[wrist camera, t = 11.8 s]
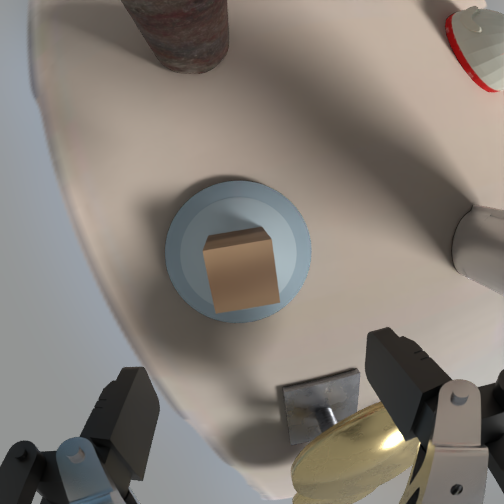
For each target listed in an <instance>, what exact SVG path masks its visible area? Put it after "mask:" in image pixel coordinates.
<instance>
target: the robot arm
mask: <svg viewBox="0 0 504 504" xmlns="http://www.w3.org/2000/svg"><path fill="white" fill-rule="evenodd" d="M452 257H453V262H454V266H455V268H456V270H457V271H458V272H459V273H460V274H461V275H463V276H465V277H467V278H469V279H471V280H473V281H475V282H477V283H479V284H481V285H483V286H485V287H487V288H489V289H491V290H493V291H495V292H497V293H499V294H501V295H503V296H504V210H500V209H495V208H490V207H485V206H479V205H473V207H472V210H471V211H470V212H469V213H467V214H466V215H465V216H464V217H463V218H462V220H461V221H460V223H459V224H458V227H457V229H456V232H455V235H454V239H453V245H452ZM365 372H366V376H367V379H368V381H369V383H370V384H371V386H372V388H373V389H374V391H375V392H376V394H377V396H378V397H379V399H380V400H381V402H382V404H383V405H384V407H385V409H386V410H387V412H388V413H389V415H390V417H391V418H392V420H393V422H394V423H395V425H396V427H397V428H398V430H399V432H400V433H401V435H402V437H403V438H404V440H405V442H406V441H409V440H411V439H413V438H415V437H417V438H418V440H419V441H420V442H419V445H418V448H417V452H416V456H415V459H414V463H413V467H412V470H411V473H410V477H409V480H408V483H407V486H406V489H405V492H404V494H403V496H402V498H401V500H400V502H399V504H483V500H484V494H485V487H486V479H487V469H488V468H489V470H490V471H491V473H492V474H493V476H494V478H495V479H496V481H497V483H498V484H499V486H500V488H501V489H502V491H503V493H504V370H502V371H501V372H500V374H499V376H498V379H497V381H496V383H493V384H489V385H485V386H481V387H477V386H476V385H475V384H473V383H472V382H470V381H467V380H462V379H456V380H452V379H451V378H450V377H449V376H448V375H447V374H446V373H445V372H444V371H443V370H442V369H441V368H440V367H439V365H438V364H437V363H436V362H435V361H434V360H433V359H432V358H431V357H430V358H429V355H428V354H427V353H426V352H425V351H423V349H422V348H421V347H420V346H419V345H418V344H417V343H416V342H415V341H412V340H410V339H408V338H406V337H404V336H402V337H398V336H397V335H396V333H395V332H394V331H393V330H392V329H391V328H389V327H386V328H382V329H379V330H375V331H371V332H369V333H368V335H367V346H366V359H365ZM159 411H160V405H159V400H158V397H157V394H156V392H155V390H154V388H153V386H152V383H151V381H150V379H149V376H148V374H147V372H146V370H145V368H144V367H124V368H122V370H121V371H120V374H119V375H118V377H117V379H116V381H112V382H110V383H109V384H108V385H107V386H106V387H105V388H104V389H103V391H102V393H101V395H100V397H99V401H97V402H96V405H95V409H93V410H92V413H91V414H90V416H89V418H88V420H87V422H86V425H85V426H84V429H83V431H82V433H81V435H80V437H74V438H70V439H68V440H66V441H64V442H63V443H62V444H61V445H60V446H59V448H58V449H57V451H45V452H40V451H39V450H38V449H37V447H36V446H35V445H34V444H33V443H32V442H30V441H20V442H17V443H15V444H14V445H13V446H12V447H11V448H10V449H9V451H8V453H7V455H6V457H5V459H4V461H3V463H2V465H1V466H0V504H31V503H32V500H33V497H34V495H35V492H36V491H37V492H38V493H39V494H40V495H41V496H43V497H42V500H41V503H40V504H140V502H139V501H138V499H137V498H136V496H135V495H134V493H133V491H132V490H131V488H130V487H129V485H130V480H138V481H143V478H144V473H145V469H146V465H147V461H148V456H149V452H150V448H151V444H152V440H153V436H154V431H155V427H156V424H157V420H158V416H159Z"/></svg>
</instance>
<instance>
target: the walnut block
mask: <svg viewBox="0 0 504 504" xmlns="http://www.w3.org/2000/svg"><path fill="white" fill-rule="evenodd" d="M203 256H204V261H205V266H206V271H207V276H208V280H209V285H210V290H211V294H212V299H213V304H214V308H215V312H216V314H217V313H223V312H229V311H236V310H242V309H248V308H253V307H259V306H265V305H270V304H276V303H280V296H279V289H278V281H277V274H276V266H275V259H274V252H273V244H272V239H271V237H270V236H269V235H268V234H267V232H266V231H265V230H264V228H263V227H256V228H250V229H244V230H238V231H232V232H226V233H220V234H214V235H209V236H208V237H207V240H206V243H205V245H204V248H203Z"/></svg>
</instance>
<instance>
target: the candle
mask: <svg viewBox="0 0 504 504" xmlns="http://www.w3.org/2000/svg"><path fill="white" fill-rule="evenodd" d="M121 1H122V3H123V4H124V6H125V8H126V9H127V11H128V12H129V14H130V15H131V17H132V18H133V20H134V22H135V23H136V25H137V27H138V28H139V30H140V32H141V33H142V35H143V37H144V38H145V40H146V41H147V43H148V44H149V46H150V47H151V49H152V51H153V52H154V54H155V55H156V57H157V58H158V59H159V61H160V62H161V63H162V64H163V65H164V66H166V67H167V68H169V69H171V70H173V71H175V72H179V73H199V74H200V73H204V72H207V71H209V70H211V69H213V68H214V67H215V66H216V65H218V64H219V63H220V61H221V60H222V59H223V58H224V57H225V55H226V53H227V51H228V47H229V27H228V12H227V0H121Z"/></svg>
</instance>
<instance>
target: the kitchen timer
mask: <svg viewBox="0 0 504 504" xmlns="http://www.w3.org/2000/svg"><path fill="white" fill-rule="evenodd" d="M445 28H446V34H447V38H448V40H449V43H450V46H451V48H452V50H453V52H454V54H455V56H456V58H457V59H458V61H459V62H460V64H461V66H462V67H463V69H464V70H465V71H466V73H467V74H468V75H469V76H470V77H471V79H472V80H473V81H474V82H475V83H476V84H477V85H478V86H480V87H481V88H482V89H484V90H486V91H488V92H498V91H502V90H504V14H502V13H499V12H496V11H492V10H488V9H478V7H476V6H473V7H470V8H468V9H466V10H462V11H458V12H456V13H454V14H452V15H450V16H449V17H448V18H447V19H446V24H445Z"/></svg>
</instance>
